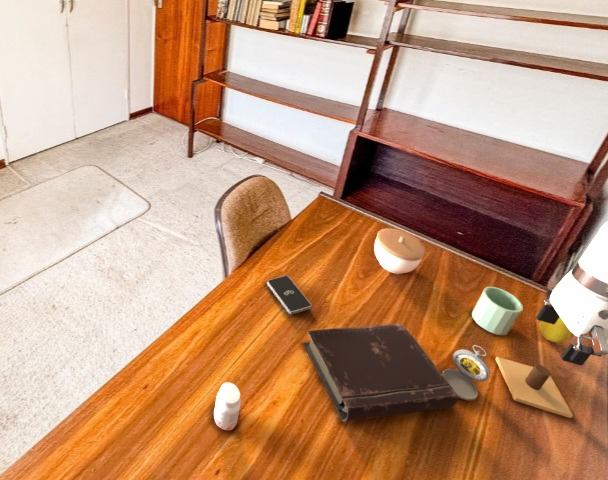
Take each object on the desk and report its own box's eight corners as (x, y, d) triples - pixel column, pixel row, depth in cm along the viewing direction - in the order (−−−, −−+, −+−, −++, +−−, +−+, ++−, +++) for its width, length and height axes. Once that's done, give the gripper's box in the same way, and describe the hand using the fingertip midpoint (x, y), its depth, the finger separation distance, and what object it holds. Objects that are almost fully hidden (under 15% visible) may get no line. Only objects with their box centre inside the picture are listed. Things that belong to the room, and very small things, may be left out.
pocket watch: (445, 395, 87) (462, 365, 82) (434, 360, 94) (450, 331, 90) (489, 409, 84) (509, 380, 80) (475, 373, 91) (492, 344, 87)
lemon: (562, 339, 100) (577, 317, 97) (562, 354, 96) (578, 332, 93) (533, 325, 104) (547, 304, 100) (532, 339, 100) (547, 317, 96)
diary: (453, 412, 83) (461, 397, 81) (343, 426, 80) (350, 412, 78) (393, 332, 100) (399, 318, 98) (301, 341, 97) (305, 327, 95)
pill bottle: (237, 408, 82) (242, 383, 79) (236, 434, 78) (242, 408, 74) (214, 402, 83) (218, 377, 80) (212, 427, 79) (217, 402, 75)
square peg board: (546, 374, 92) (558, 357, 89) (571, 418, 83) (585, 401, 81) (495, 359, 95) (505, 342, 92) (514, 400, 86) (526, 383, 84)
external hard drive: (286, 280, 114) (287, 274, 113) (311, 311, 105) (312, 306, 104) (265, 285, 112) (266, 280, 111) (289, 318, 103) (291, 312, 102)
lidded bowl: (366, 268, 120) (376, 239, 115) (372, 244, 129) (382, 217, 125) (414, 288, 113) (426, 259, 109) (416, 261, 123) (428, 234, 118)
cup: (501, 314, 106) (514, 291, 103) (514, 339, 100) (529, 316, 96) (467, 305, 109) (479, 283, 105) (477, 329, 102) (491, 306, 98)
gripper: (662, 324, 66) (607, 387, 74) (596, 255, 81) (556, 312, 88) (605, 310, 68) (558, 372, 76) (551, 245, 83) (516, 302, 91)
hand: (557, 340), depth 82 cm, fingers open, 9 cm apart
